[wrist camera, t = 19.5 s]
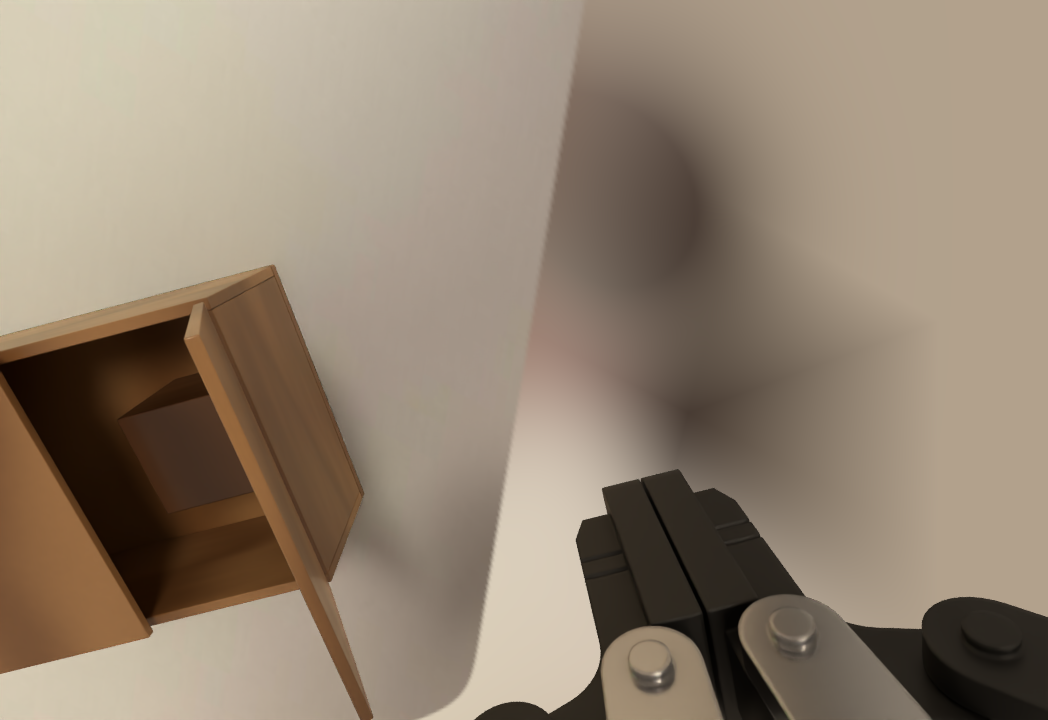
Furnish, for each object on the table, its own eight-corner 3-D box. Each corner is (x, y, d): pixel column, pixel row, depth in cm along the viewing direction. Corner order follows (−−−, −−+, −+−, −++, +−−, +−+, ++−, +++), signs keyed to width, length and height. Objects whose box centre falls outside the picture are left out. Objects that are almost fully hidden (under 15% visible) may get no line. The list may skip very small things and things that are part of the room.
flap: (192, 305, 17) (203, 301, 17) (323, 594, 21) (331, 590, 21) (182, 339, 12) (199, 333, 12) (362, 725, 15) (374, 718, 15)
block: (266, 353, 24) (225, 390, 20) (303, 438, 25) (271, 488, 22) (174, 378, 24) (115, 419, 20) (215, 462, 25) (167, 515, 22)
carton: (274, 263, 23) (194, 302, 17) (364, 494, 27) (326, 595, 21) (-32, 344, 24) (-219, 410, 17) (97, 560, 27) (-20, 680, 21)
